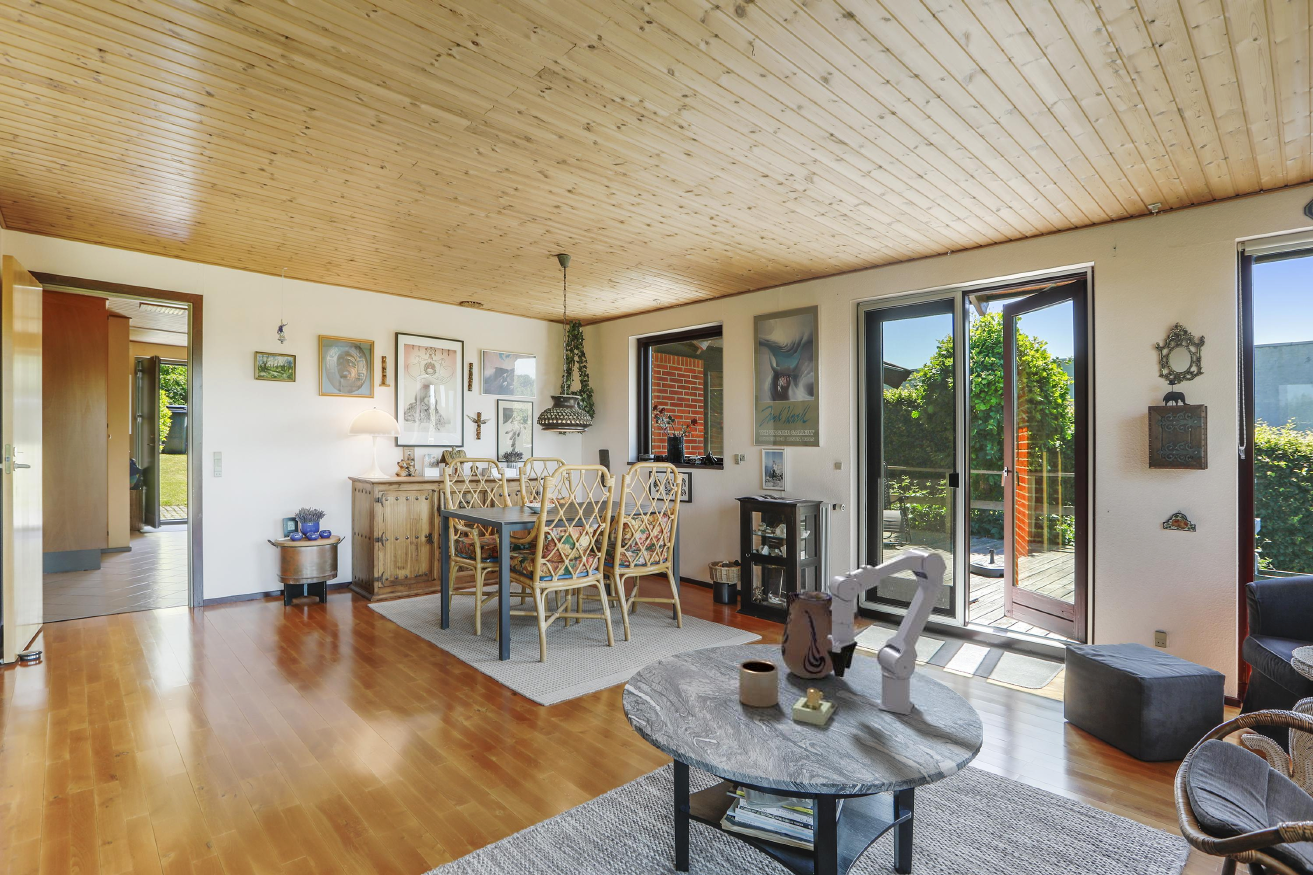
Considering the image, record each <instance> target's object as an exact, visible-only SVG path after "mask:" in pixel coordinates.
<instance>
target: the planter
mask: <svg viewBox="0 0 1313 875" xmlns="http://www.w3.org/2000/svg"><path fill="white" fill-rule="evenodd" d="M738 668H739V670H738V672H739V673H738V674H739V675H738V676H739V677H738V678H739V681H738V699H739V701H741V703H743V704H744V705H746V706H747V707H753V708H759V709H760V708H763V709H764V708H770V707H774V705H776V704H778V702H779V666H778V665H777V664H775V663H773V662H769V661H765V660H755V659H754V660H747V661H743V662H741V663H740V664H739V667H738Z"/></svg>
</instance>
